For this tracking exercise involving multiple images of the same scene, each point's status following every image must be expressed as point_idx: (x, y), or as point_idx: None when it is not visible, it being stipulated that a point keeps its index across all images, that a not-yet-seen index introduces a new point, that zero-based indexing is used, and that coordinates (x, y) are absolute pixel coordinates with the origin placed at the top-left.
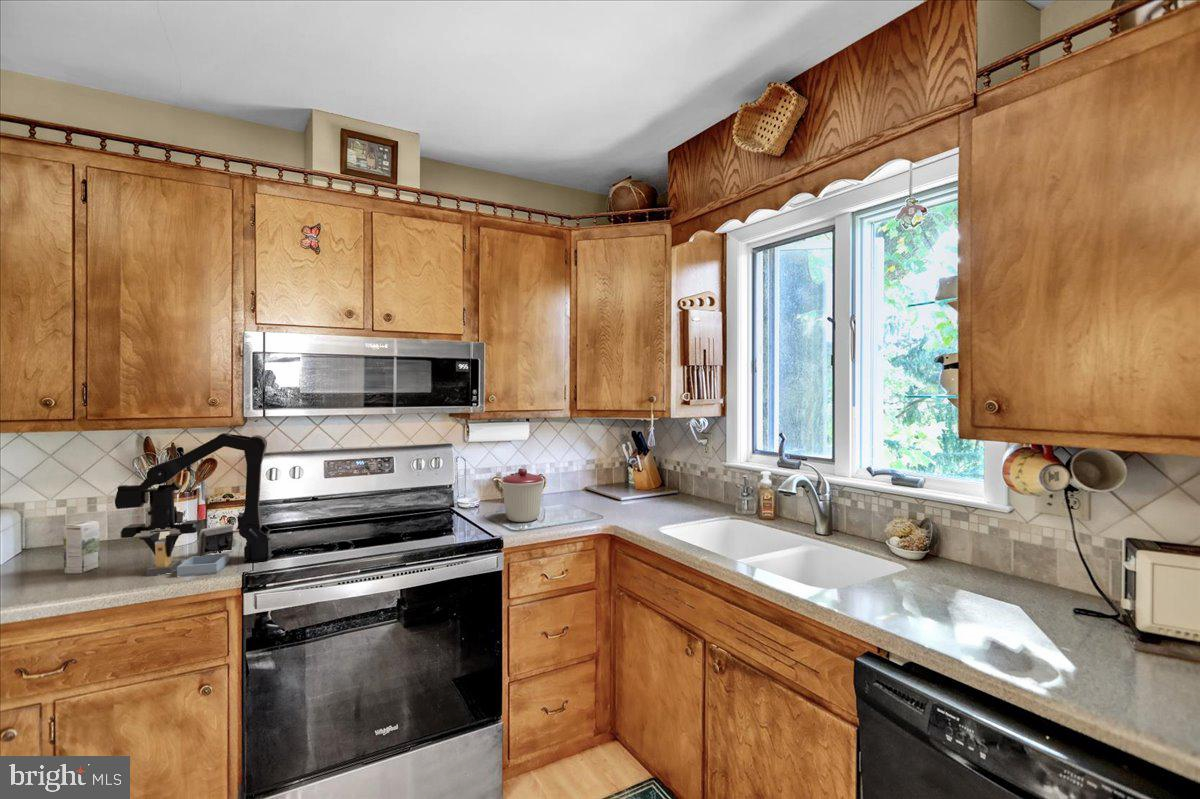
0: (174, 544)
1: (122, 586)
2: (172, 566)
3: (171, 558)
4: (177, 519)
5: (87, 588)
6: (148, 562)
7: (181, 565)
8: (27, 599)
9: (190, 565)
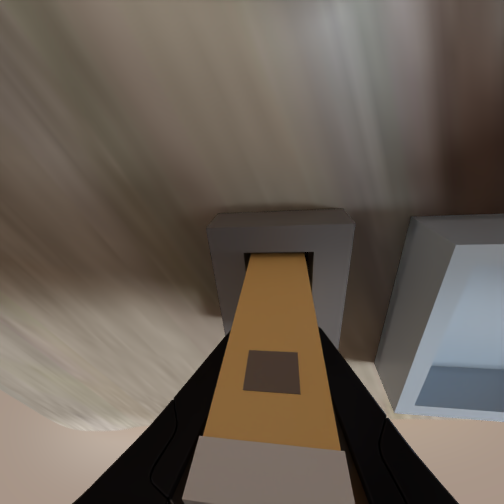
0: (388, 427)
1: None
2: (339, 328)
3: (307, 271)
4: None
5: (116, 373)
6: (51, 32)
7: (414, 402)
8: (39, 397)
9: (464, 415)
